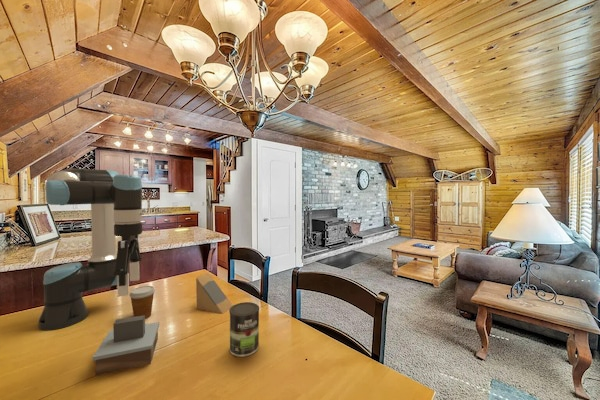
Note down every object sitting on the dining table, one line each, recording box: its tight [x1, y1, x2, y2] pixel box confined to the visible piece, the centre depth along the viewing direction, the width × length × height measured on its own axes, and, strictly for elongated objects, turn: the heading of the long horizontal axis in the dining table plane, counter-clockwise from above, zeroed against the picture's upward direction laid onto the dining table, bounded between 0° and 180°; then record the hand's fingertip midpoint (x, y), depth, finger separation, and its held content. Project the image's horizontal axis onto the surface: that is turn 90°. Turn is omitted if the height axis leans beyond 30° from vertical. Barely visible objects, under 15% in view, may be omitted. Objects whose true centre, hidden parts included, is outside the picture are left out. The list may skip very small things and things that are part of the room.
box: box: [94, 330, 159, 377], centre depth 81 cm, size 14×14×6 cm
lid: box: [91, 315, 160, 361], centre depth 81 cm, size 15×15×7 cm
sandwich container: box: [195, 272, 234, 315], centre depth 117 cm, size 9×15×15 cm, turn 70°
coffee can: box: [228, 301, 260, 358], centre depth 87 cm, size 10×10×14 cm
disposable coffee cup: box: [128, 285, 156, 320], centre depth 108 cm, size 10×10×12 cm
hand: (129, 287), depth 80 cm, fingers open, 13 cm apart
